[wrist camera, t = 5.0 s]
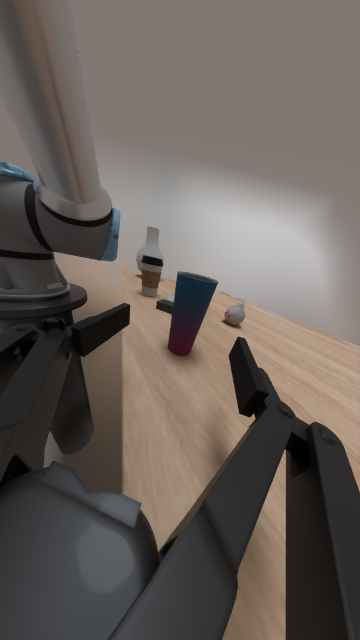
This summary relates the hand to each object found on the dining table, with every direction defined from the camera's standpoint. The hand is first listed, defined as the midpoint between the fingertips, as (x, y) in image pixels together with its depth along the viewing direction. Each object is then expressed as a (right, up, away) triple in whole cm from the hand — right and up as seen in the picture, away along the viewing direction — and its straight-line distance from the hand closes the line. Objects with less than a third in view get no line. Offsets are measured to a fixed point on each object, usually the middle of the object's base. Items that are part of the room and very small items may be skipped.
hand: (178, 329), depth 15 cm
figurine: (+18, 0, +30) cm, 35 cm away
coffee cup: (-13, +12, +40) cm, 44 cm away
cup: (0, -5, +13) cm, 14 cm away
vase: (-21, +29, +70) cm, 79 cm away
